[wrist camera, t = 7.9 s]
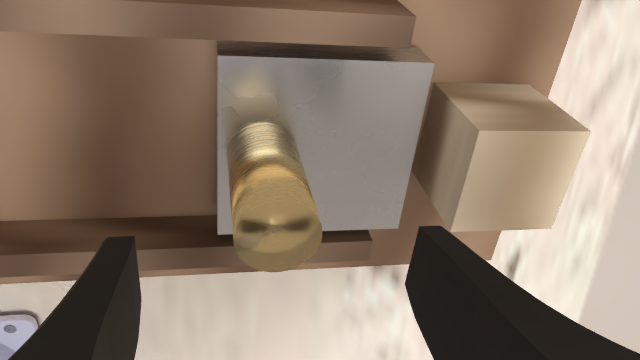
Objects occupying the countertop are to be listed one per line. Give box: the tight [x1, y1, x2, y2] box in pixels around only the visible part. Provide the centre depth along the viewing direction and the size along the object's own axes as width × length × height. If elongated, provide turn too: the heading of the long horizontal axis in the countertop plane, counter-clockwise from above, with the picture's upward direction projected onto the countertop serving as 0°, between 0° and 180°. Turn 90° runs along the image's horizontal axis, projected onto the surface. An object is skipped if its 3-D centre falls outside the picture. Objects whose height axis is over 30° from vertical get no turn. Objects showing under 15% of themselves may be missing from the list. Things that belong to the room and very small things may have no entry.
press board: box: [0, 0, 582, 284], centre depth 20 cm, size 22×14×4 cm, turn 84°
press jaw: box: [216, 40, 435, 272], centre depth 17 cm, size 7×7×6 cm
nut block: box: [413, 82, 591, 232], centre depth 20 cm, size 4×4×4 cm
